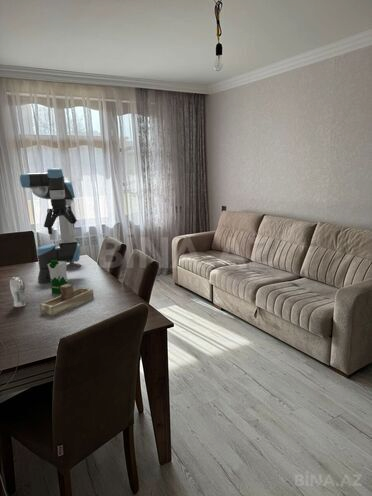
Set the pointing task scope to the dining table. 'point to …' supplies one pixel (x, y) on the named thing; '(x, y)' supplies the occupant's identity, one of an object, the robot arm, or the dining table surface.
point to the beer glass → (18, 291)
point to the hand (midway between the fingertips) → (62, 237)
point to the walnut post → (66, 292)
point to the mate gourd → (72, 264)
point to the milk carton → (57, 275)
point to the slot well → (66, 302)
